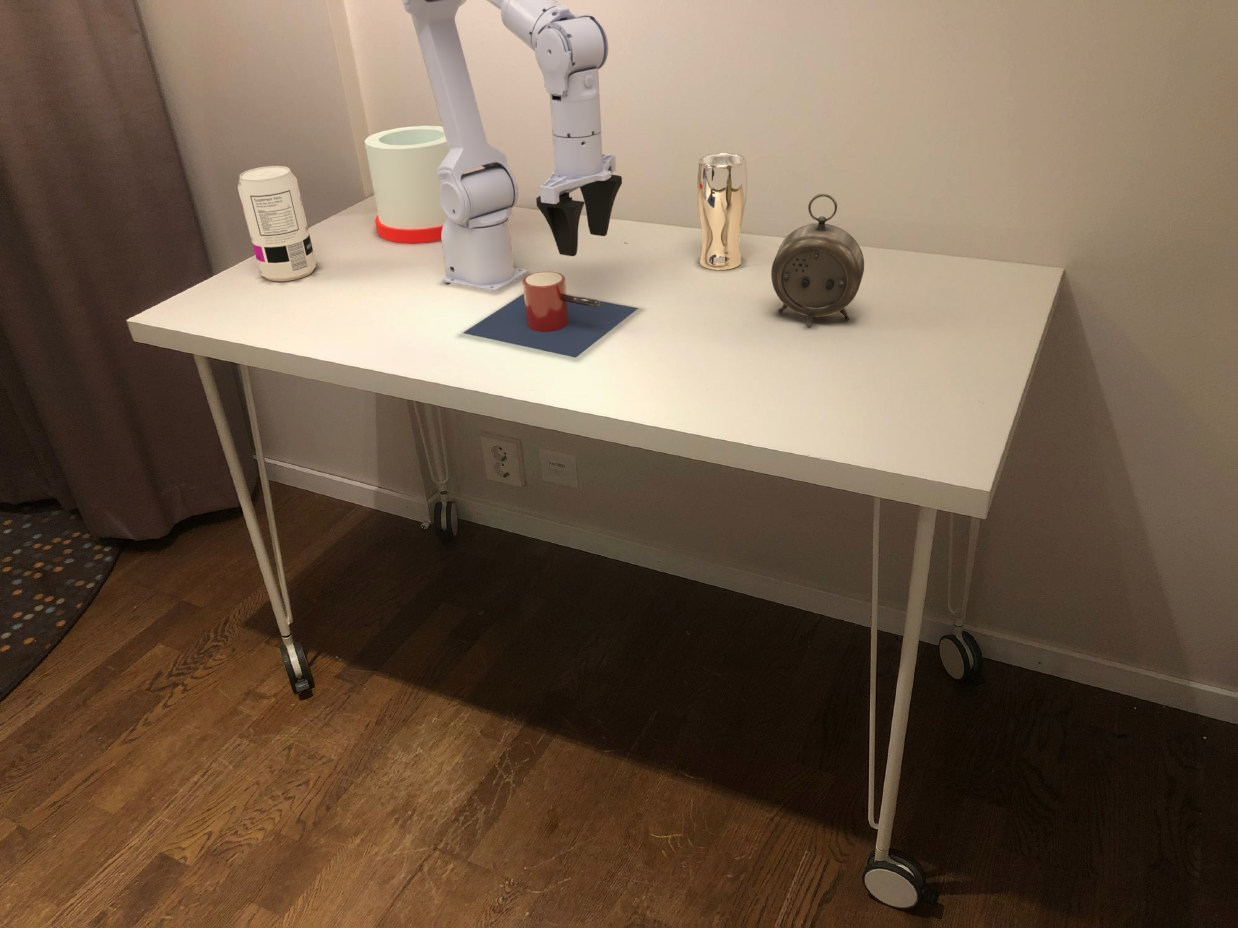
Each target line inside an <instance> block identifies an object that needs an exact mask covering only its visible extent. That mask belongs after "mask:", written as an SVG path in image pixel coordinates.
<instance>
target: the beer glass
mask: <svg viewBox="0 0 1238 928" xmlns="http://www.w3.org/2000/svg"><path fill="white" fill-rule="evenodd" d="M697 168H698V169H697V178H696V179H697V180H696V200H697V208H698V215H699V220H700V226H701V232H702V235H701V236H702V245H701V251H700V257H699V264H700V266H701V267H703V268H705V269H709V270H714V271H727V270H732V269H735V268H738V267H739V266H740V265H741V264H742V254H741V248H740V247H741V246H740V234H741V228H742V223H743V220H744V219H743V218H744V214H745V209H746V202H747V193H748V192H747V191H748V174H747V158H746V157H745V156H744V155H743V154H739V153H733V152H716V153H708V154H704V155H702V156H701V157H699V158H698V167H697Z"/></svg>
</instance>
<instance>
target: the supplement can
mask: <svg viewBox="0 0 1238 928" xmlns="http://www.w3.org/2000/svg"><path fill="white" fill-rule="evenodd" d="M237 191H238V195H239V199H240V202H241V206H242V211H243V214H244V218H245V222H246V225H247V229H248V233H249V237H250V240H251V244H252V247H253V252H254V255H255V259H256V262H257V267H258V270H259V274H260V275H261V276H262V277H264V278H265V279H266V280H268V281H271V282H291V281H295V280H300V279H303V278H305V277H307V276H309V275H311V274H312V273H313V272H314V269H315V268H316V267H317V262H316V256H315V251H314V247H313V244H312V240H311V234H310V231H309V226H308V222H307V218H306V213H305V209H304V204H303V201H302V196H301V191H300V187H299V182H298V178H297V177H296V176H295V175H294V174H293V172H292V171H291V168H289V167H288V166H282V165H268V166H261V167H256V168H251V169H247V170H245V171H243V172H242V173H240V174H239V180H238V184H237Z"/></svg>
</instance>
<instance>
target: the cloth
mask: <svg viewBox="0 0 1238 928" xmlns="http://www.w3.org/2000/svg"><path fill="white" fill-rule="evenodd" d="M598 301H599V302H600V305H599V306H598V307H592V306H586V305H581V304H576V303H570V302H567V307H568V320H569V322H568V324H567V326H565V327H564V328H562V329H559V330H556V331H550V332H540V331H535V330H532V329H530V328H529V327H528V326H527V319H526V310H525V300H524V293H522V294H521V295H519V296H518V297H516V298H514V299H513V300H512V301H510V302H508V303H507V304H505V305H504V306H502V307H501V308H499V309H497V310H496V311H494V312H493V313H491V314H489V315H488V316H487V317H485V318H483V319H481V321H479V322H477V323H476V324H474V325H472V326H471V327H470V328H468V329H467V330H465V331H463V332H462V334H464V335H470V336H473V337H477V338H478V337H479V338H483V339H487V340H488V339H489V340H493V341H497V342H503V343H507V344H512V345H516V346H520V347H525V348H529V349H534V350H537V351H542V352H548V353H553V354H557V355H562V356H565V357H566V356H567V357H571V358H575V359H576V358H578V357H579V356H580V355H581V354H583V353H584V352H585V351H586V350H588V349H589V348H590V347H591V346H593V345H594V344H595V343H597V342H598V341H599V340H601V339H602V338H603V337H604V336H605V335H607V334H608V333H609V332H611V331H612V330H613V329H614V328H616V327H617V326H618V325H619V324H620V323H622V322H623V321H624V320H626V319H627V318H628V317H630V316H631V315H632V314H634V313H635V312H636V311H637V310H638V309H639V307H635V306H629V305H623V304H618V303H614V302H613V303H612V302H607V301H602V300H598Z"/></svg>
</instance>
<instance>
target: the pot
mask: <svg viewBox="0 0 1238 928" xmlns="http://www.w3.org/2000/svg"><path fill="white" fill-rule="evenodd" d="M566 282H567V281H566V276H565V275H564V274H562V273H560V272H556V271H537V272H533V273H531V274H528V275H526V276H524V277H523V279H522V289H523V294H524V300H525V310H526V319H527V326H528V327H529V328H530V329H532V330H535V331H540V332H550V331H556V330H559V329H562V328H564V327H565V326H567V324H568V322H569V320H568V307H567V302H570V303H576V304H581V305H586V306H592V307H598V306H599V305H600V302H599V301H600V300H598V299H593V298H589V297H588V298H587V297H584V296H583V297H582V296H578V295H577V296H576V295H572V294H567V283H566Z"/></svg>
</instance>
